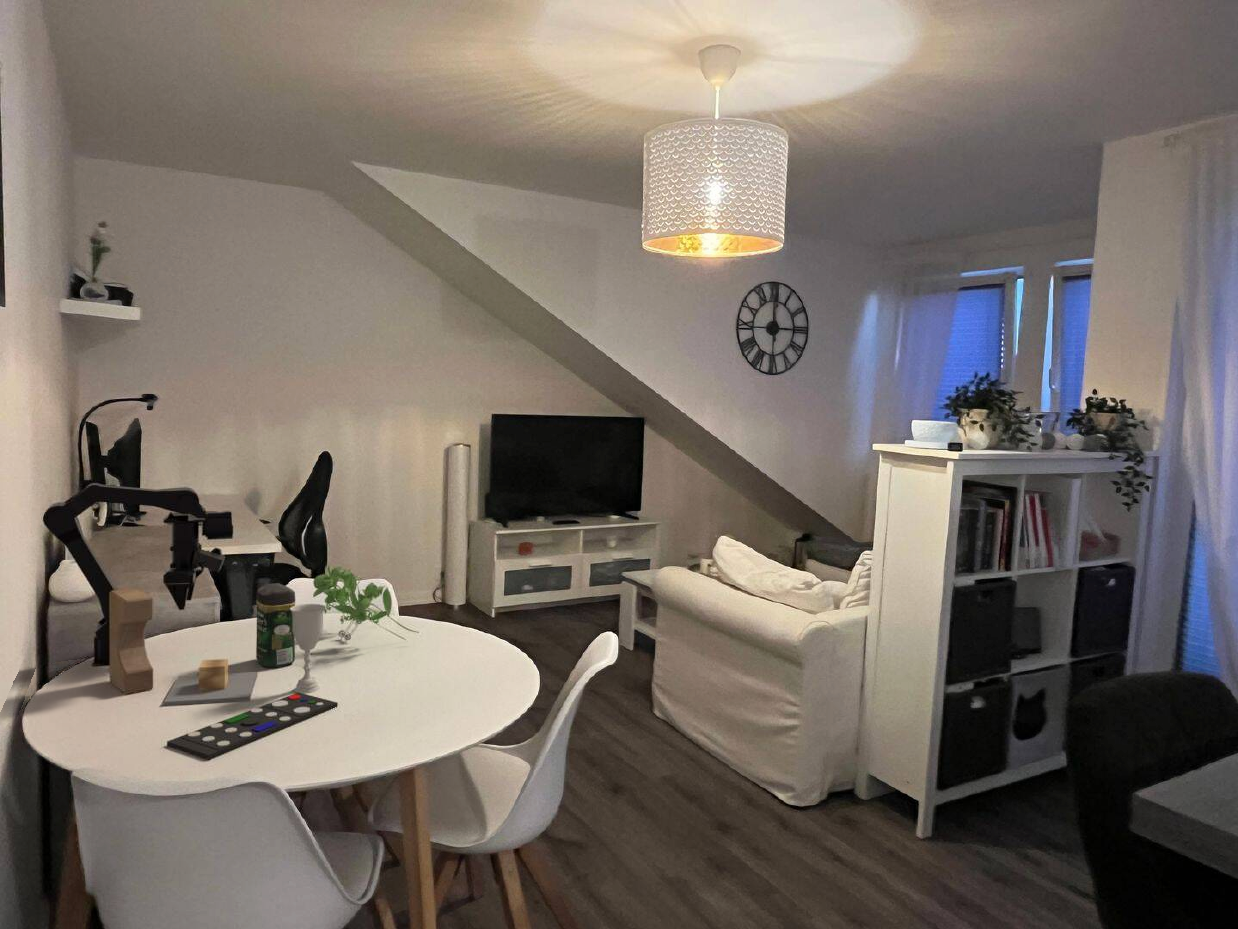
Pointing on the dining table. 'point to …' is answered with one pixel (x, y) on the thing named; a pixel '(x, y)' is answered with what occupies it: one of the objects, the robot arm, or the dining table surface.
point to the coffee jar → (275, 625)
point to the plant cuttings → (352, 598)
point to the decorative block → (129, 640)
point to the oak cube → (213, 674)
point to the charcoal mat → (189, 691)
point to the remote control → (251, 726)
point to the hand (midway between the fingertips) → (185, 605)
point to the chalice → (307, 639)
